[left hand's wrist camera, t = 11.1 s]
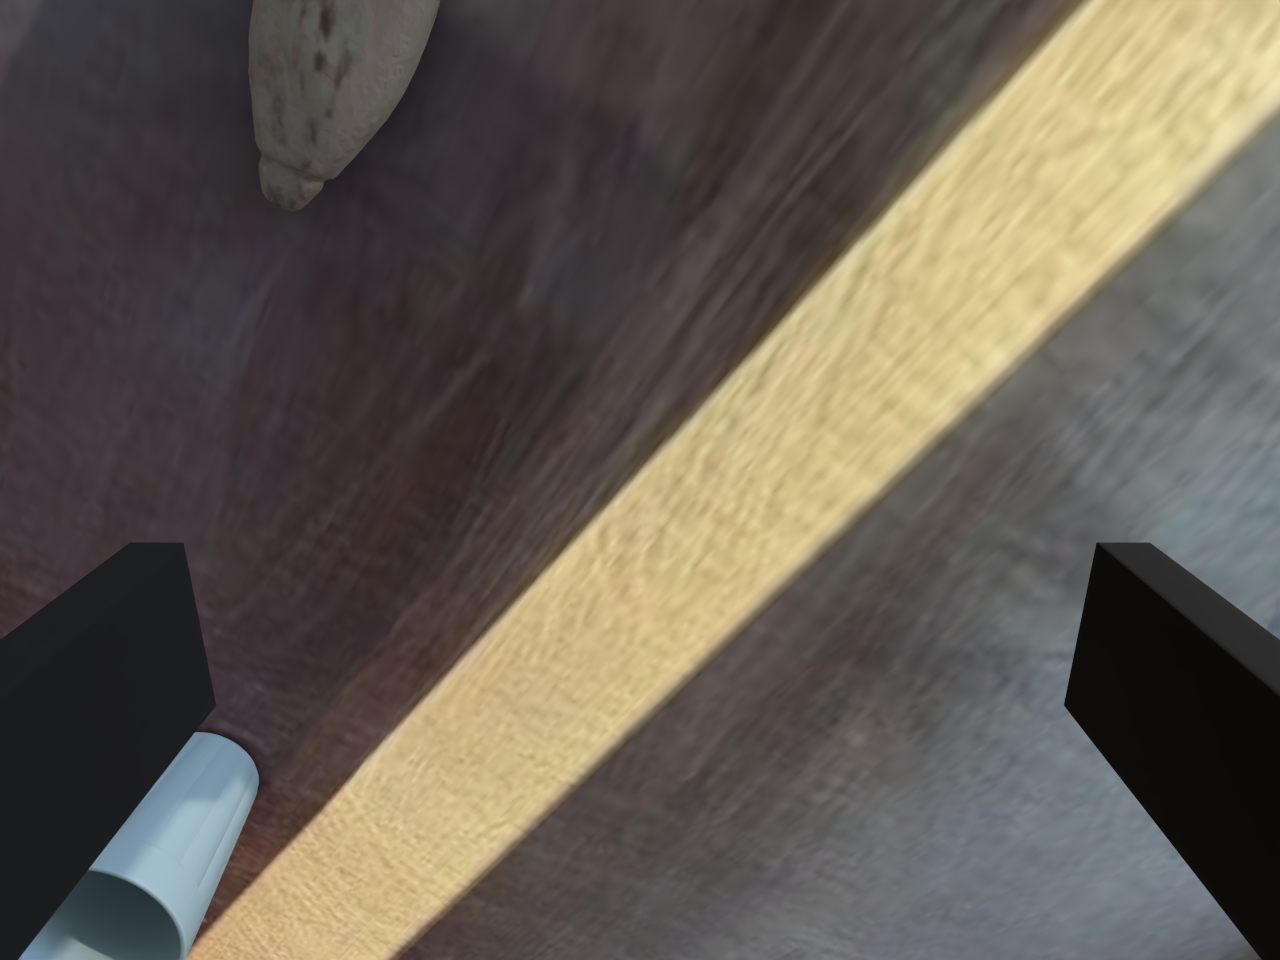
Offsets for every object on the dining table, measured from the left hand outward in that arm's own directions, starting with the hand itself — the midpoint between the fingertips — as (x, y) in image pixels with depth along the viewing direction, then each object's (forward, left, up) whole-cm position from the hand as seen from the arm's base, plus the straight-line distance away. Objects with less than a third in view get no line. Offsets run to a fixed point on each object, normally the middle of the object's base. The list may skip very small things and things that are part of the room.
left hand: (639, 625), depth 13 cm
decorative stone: (-12, -11, -27) cm, 31 cm away
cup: (+24, -23, -27) cm, 43 cm away
